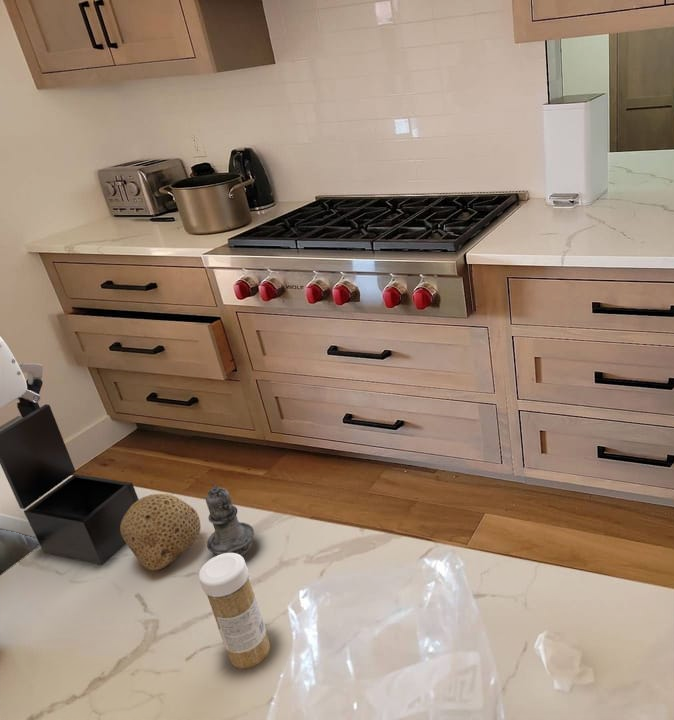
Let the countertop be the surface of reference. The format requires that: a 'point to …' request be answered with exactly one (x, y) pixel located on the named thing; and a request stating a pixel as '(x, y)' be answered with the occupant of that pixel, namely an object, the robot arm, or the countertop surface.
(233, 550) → the grey chess piece
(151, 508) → the natural sponge
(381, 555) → the countertop surface
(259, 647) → the sprinkles bottle
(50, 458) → the lid
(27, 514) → the black open box
